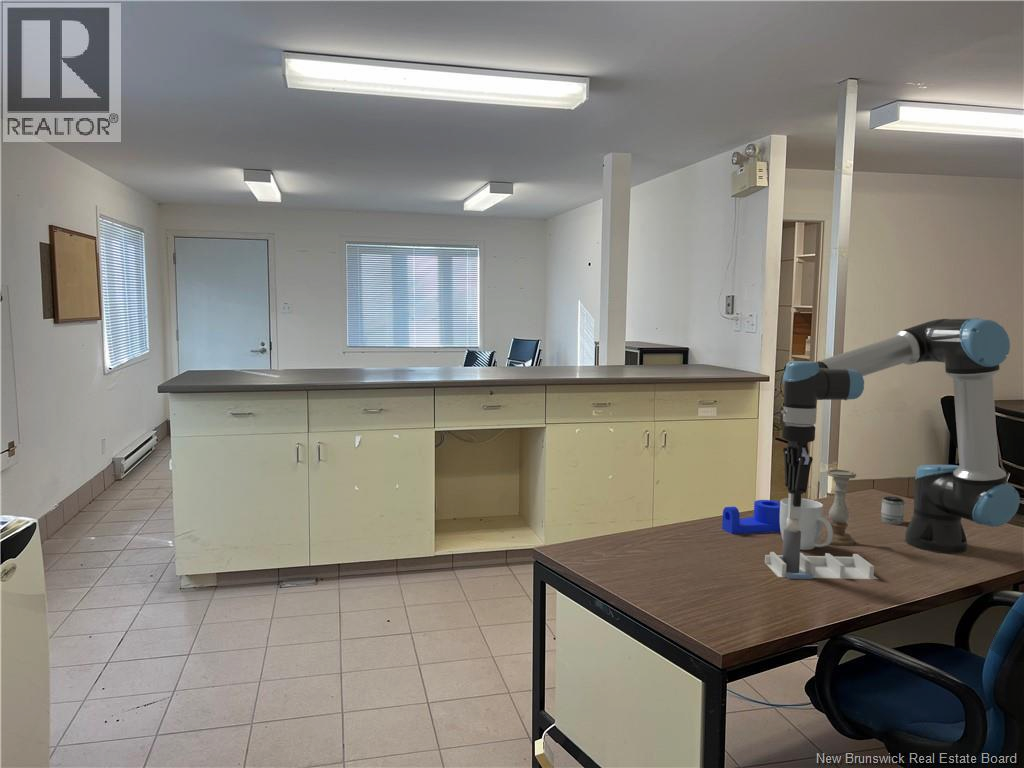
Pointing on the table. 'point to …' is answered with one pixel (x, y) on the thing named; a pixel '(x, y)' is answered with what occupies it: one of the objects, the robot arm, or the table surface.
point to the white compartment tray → (823, 567)
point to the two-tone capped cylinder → (792, 545)
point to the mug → (807, 523)
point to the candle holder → (840, 509)
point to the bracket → (753, 518)
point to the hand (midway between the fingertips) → (794, 518)
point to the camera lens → (892, 510)
